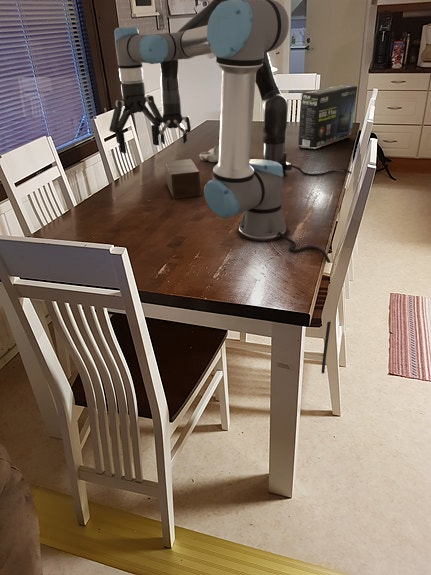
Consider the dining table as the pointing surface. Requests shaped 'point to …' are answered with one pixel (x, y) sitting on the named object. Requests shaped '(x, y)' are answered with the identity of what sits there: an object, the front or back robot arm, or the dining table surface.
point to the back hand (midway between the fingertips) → (174, 143)
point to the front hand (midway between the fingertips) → (140, 148)
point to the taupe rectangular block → (182, 178)
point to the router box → (326, 115)
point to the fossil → (211, 154)
